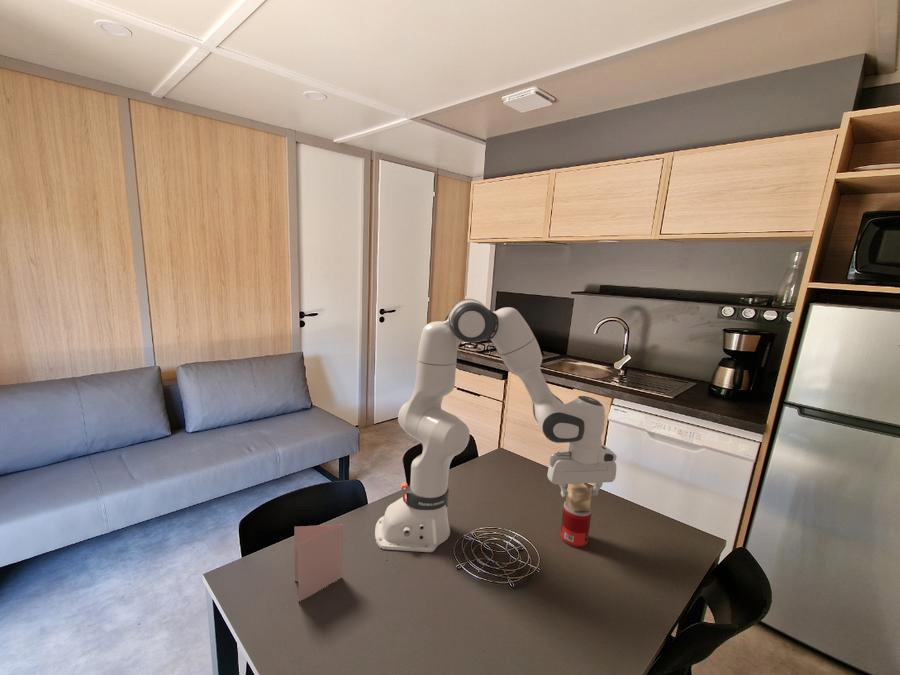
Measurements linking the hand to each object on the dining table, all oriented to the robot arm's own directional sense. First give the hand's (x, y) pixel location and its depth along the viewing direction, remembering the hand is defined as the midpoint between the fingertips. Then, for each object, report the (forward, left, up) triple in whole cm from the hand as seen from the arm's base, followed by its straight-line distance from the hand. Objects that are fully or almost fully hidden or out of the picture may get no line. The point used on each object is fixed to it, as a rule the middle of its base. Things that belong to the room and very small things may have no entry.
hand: (578, 495), depth 118 cm
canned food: (0, 0, -15) cm, 15 cm away
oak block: (0, 0, -4) cm, 4 cm away
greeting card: (-73, -11, -15) cm, 75 cm away
